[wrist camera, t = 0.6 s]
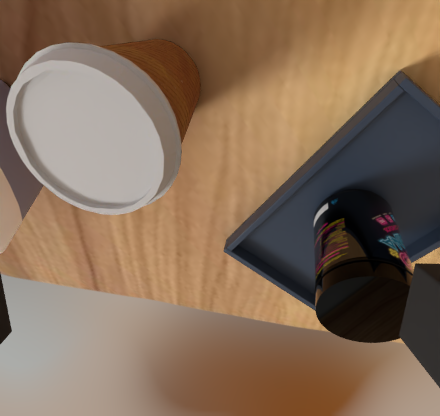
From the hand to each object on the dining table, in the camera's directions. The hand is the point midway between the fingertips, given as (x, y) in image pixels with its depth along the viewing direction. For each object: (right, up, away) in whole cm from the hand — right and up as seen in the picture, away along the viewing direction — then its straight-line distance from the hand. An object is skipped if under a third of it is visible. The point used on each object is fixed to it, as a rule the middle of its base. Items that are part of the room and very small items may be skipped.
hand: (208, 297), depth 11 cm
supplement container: (+12, +2, +19) cm, 23 cm away
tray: (+12, +2, +20) cm, 23 cm away
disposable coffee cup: (-4, +13, +16) cm, 21 cm away
